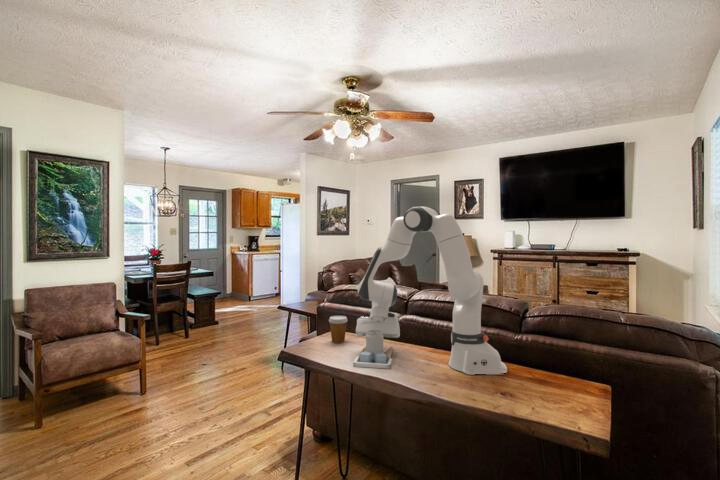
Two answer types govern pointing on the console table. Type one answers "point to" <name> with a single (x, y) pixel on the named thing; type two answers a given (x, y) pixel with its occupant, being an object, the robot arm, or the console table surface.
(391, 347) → the slot rails
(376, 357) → the light blue boxy piece
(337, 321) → the disposable coffee cup
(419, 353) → the console table surface
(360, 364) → the white u-shaped frame
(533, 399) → the console table surface
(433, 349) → the console table surface
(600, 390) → the console table surface
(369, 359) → the light blue cubic block
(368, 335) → the can
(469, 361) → the robot arm
